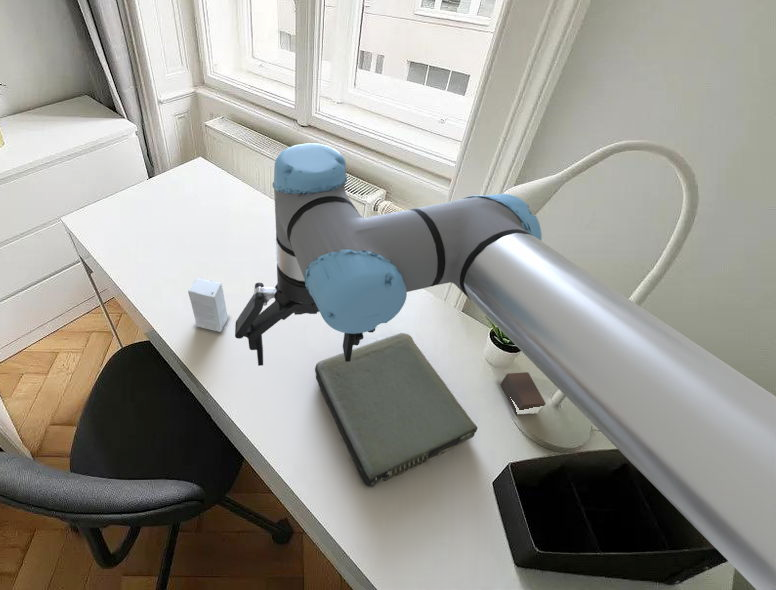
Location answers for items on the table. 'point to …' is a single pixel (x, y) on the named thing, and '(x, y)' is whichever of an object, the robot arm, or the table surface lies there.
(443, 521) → the table surface
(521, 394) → the brown and white block
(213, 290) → the cosmetic box
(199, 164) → the table surface
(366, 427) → the network switch
